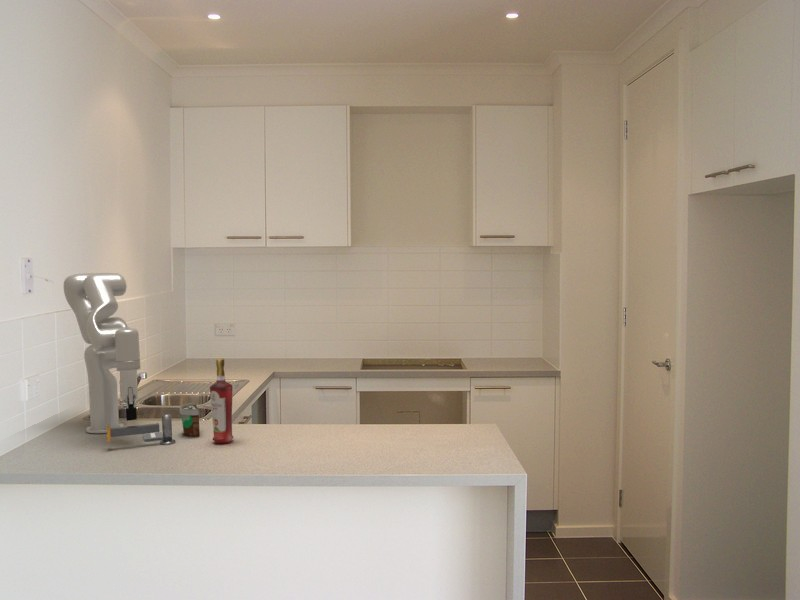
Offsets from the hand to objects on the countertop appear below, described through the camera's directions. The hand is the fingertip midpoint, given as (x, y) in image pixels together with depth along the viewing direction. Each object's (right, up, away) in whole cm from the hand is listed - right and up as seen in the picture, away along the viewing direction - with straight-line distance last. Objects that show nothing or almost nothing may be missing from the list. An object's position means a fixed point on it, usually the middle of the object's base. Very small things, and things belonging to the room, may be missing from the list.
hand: (131, 419), depth 235 cm
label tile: (+5, -7, +6) cm, 11 cm away
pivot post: (+12, -8, -1) cm, 15 cm away
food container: (+17, -7, +10) cm, 20 cm away
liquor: (+31, -8, -1) cm, 32 cm away
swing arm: (+3, -5, -5) cm, 8 cm away
